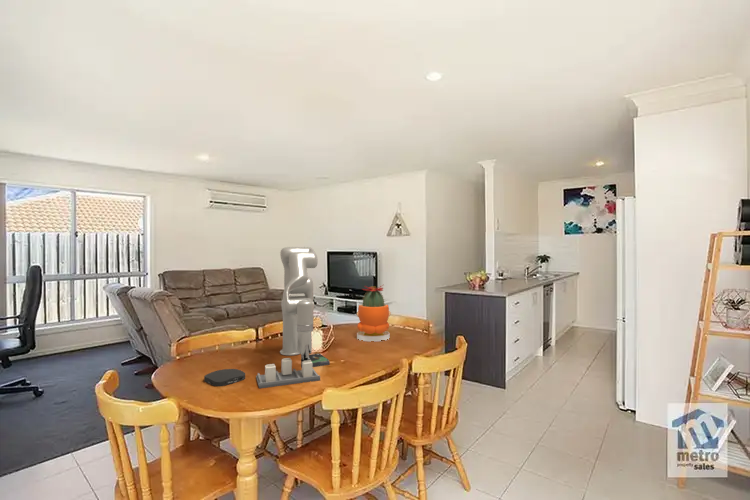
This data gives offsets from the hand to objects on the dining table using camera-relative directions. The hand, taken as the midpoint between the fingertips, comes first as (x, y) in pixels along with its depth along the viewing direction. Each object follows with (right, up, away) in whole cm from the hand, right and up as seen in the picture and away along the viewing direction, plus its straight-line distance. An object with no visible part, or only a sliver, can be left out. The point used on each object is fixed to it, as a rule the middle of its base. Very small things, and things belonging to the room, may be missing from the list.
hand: (304, 367), depth 172 cm
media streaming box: (-35, -4, -5) cm, 35 cm away
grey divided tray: (-7, -4, -4) cm, 9 cm away
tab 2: (-8, -2, -1) cm, 9 cm away
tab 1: (-13, -2, -10) cm, 17 cm away
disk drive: (+1, -4, +21) cm, 21 cm away
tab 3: (+2, -2, -4) cm, 5 cm away
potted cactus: (+32, -4, +70) cm, 77 cm away
